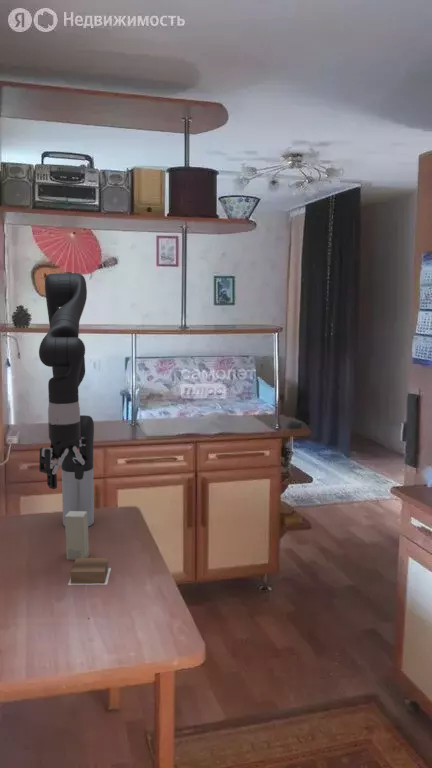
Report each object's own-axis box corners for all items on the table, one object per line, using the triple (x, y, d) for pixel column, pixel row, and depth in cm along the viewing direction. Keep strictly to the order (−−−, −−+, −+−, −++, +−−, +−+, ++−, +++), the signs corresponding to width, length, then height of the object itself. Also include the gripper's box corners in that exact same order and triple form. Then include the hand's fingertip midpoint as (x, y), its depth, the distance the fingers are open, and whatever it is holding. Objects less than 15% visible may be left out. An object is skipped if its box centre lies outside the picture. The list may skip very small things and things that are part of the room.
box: (89, 557, 176) (89, 511, 174) (84, 564, 171) (84, 516, 170) (70, 556, 176) (69, 510, 174) (65, 563, 172) (64, 515, 170)
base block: (76, 569, 166) (76, 557, 165) (108, 569, 166) (108, 557, 166) (70, 583, 158) (70, 571, 158) (104, 583, 158) (104, 571, 158)
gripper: (75, 412, 168) (76, 473, 171) (30, 422, 156) (32, 488, 159) (96, 416, 164) (97, 479, 167) (52, 427, 152) (54, 494, 155)
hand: (66, 483), depth 163 cm, fingers open, 8 cm apart
